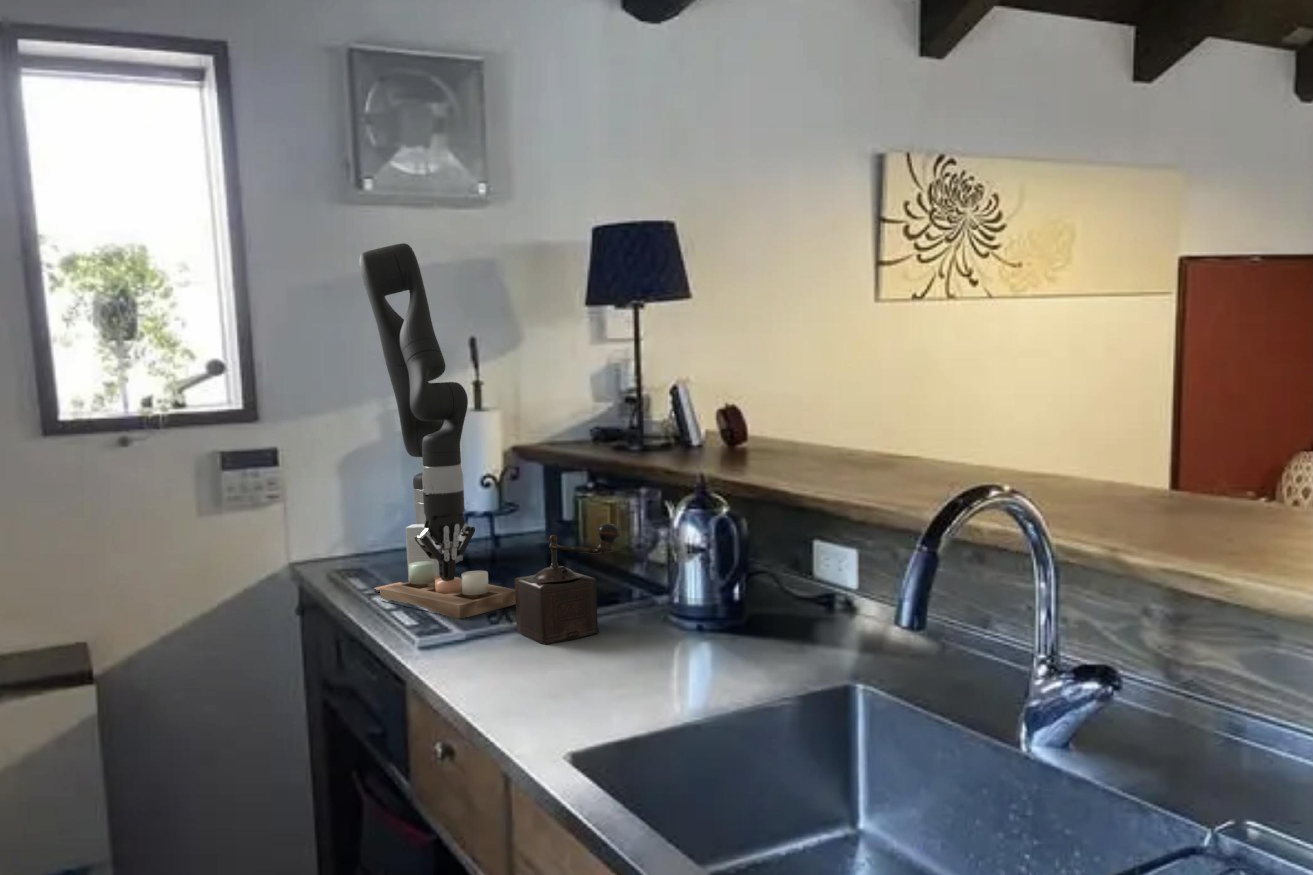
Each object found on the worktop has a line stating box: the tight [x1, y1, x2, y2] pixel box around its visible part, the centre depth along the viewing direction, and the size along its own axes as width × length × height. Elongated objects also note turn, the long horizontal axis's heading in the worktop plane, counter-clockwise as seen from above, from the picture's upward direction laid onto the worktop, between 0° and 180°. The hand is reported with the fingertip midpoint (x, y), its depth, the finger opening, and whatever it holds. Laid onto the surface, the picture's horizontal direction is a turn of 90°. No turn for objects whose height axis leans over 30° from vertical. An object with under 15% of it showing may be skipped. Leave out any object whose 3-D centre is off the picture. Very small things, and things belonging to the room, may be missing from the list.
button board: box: [379, 575, 516, 619], centre depth 200 cm, size 14×24×2 cm, turn 49°
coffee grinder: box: [514, 522, 621, 646], centre depth 176 cm, size 16×11×18 cm
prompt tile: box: [373, 581, 403, 590], centre depth 211 cm, size 6×6×1 cm
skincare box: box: [404, 523, 439, 582], centre depth 217 cm, size 6×4×12 cm
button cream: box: [460, 570, 489, 595], centre depth 194 cm, size 5×5×4 cm
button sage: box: [409, 561, 435, 584], centre depth 205 cm, size 5×5×4 cm
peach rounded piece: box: [435, 576, 462, 594], centre depth 200 cm, size 5×5×4 cm
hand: (447, 579), depth 199 cm, fingers closed
